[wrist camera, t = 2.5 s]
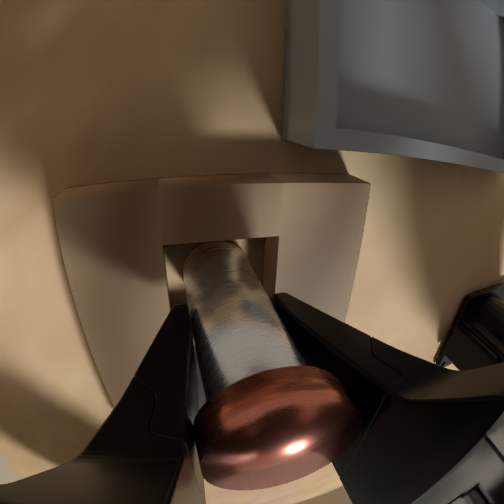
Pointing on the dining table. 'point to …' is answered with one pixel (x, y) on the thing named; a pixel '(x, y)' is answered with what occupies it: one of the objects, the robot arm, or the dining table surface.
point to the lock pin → (257, 382)
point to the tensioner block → (200, 230)
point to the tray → (397, 78)
